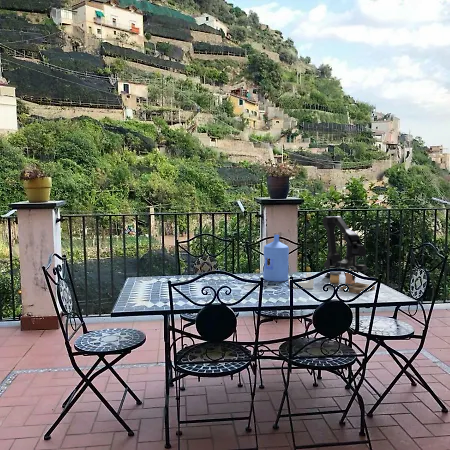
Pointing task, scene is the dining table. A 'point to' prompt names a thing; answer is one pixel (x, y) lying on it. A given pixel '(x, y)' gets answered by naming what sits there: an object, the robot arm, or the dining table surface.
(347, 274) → the salmon orange block
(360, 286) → the notched board
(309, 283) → the bracket
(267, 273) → the water jug
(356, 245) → the robot arm
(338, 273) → the bobbin
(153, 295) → the dining table surface
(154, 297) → the dining table surface
